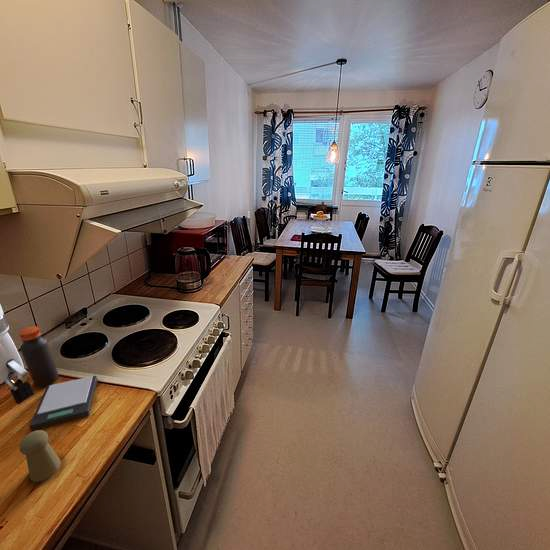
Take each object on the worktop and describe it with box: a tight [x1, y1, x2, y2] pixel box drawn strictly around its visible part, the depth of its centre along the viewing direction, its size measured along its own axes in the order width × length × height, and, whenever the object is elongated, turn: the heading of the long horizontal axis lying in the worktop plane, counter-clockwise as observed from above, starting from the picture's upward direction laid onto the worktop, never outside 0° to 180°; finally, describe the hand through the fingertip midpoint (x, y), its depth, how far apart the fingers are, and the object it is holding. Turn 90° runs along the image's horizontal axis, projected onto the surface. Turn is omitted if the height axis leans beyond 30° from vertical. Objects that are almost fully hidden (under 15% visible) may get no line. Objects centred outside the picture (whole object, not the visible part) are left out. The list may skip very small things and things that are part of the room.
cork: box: [18, 429, 62, 483], centre depth 68 cm, size 6×6×11 cm
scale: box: [28, 375, 99, 432], centre depth 88 cm, size 14×16×2 cm
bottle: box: [18, 326, 60, 388], centre depth 94 cm, size 7×7×20 cm
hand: (10, 393), depth 64 cm, fingers open, 9 cm apart
